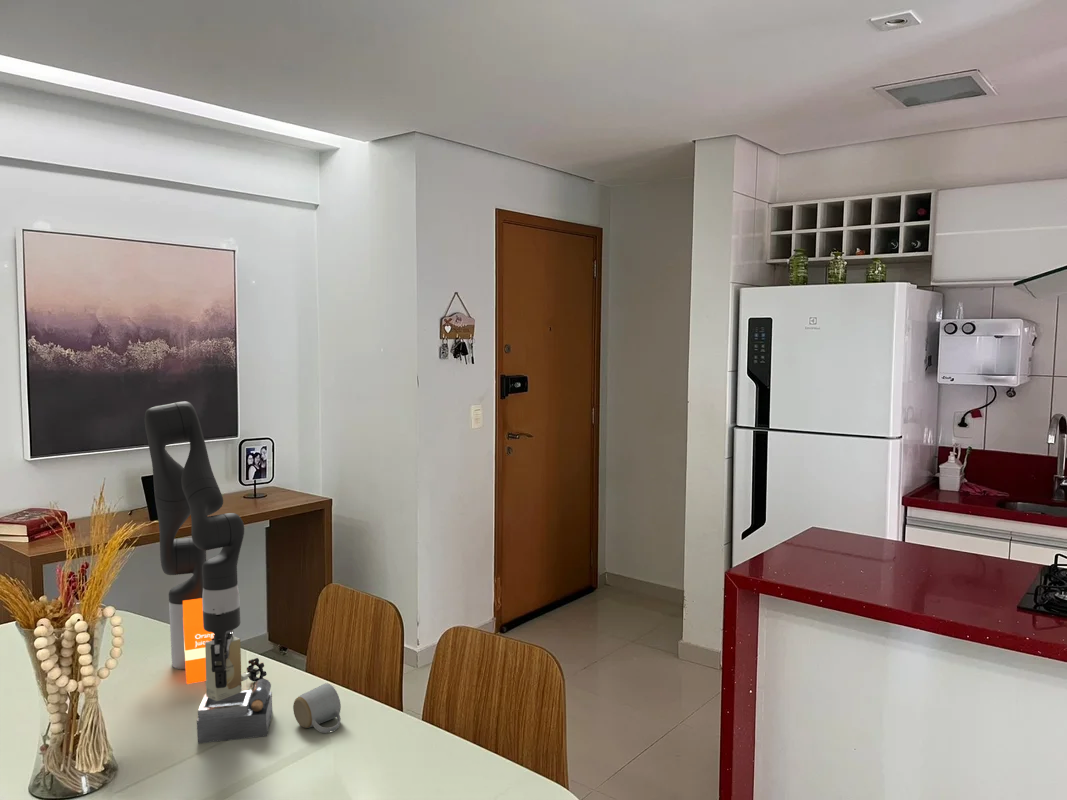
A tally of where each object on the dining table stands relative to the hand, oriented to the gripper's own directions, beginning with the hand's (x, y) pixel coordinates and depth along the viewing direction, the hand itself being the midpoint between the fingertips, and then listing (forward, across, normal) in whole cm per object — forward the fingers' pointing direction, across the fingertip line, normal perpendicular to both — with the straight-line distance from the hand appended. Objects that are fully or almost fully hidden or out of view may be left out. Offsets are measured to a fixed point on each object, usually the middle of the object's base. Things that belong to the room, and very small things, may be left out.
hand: (224, 679), depth 178 cm
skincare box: (+4, 0, 0) cm, 4 cm away
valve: (+11, -18, 0) cm, 22 cm away
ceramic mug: (+11, +2, +20) cm, 23 cm away
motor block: (+11, 0, +2) cm, 11 cm away
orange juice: (+11, -30, -10) cm, 34 cm away
